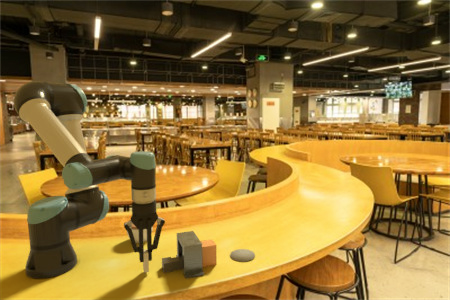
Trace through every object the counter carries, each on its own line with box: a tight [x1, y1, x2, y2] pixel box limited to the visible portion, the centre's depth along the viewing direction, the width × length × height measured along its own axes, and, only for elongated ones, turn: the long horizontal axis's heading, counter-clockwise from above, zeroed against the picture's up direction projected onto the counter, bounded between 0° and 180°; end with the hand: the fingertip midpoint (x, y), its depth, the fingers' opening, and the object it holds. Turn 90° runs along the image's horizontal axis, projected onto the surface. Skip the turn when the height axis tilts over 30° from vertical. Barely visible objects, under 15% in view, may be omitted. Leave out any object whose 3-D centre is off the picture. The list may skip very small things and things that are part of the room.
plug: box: [161, 239, 217, 274], centre depth 102 cm, size 5×18×7 cm, turn 110°
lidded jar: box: [126, 219, 154, 244], centre depth 123 cm, size 11×11×9 cm
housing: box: [175, 230, 205, 280], centre depth 101 cm, size 16×6×10 cm, turn 21°
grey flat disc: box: [229, 248, 256, 263], centre depth 109 cm, size 9×9×1 cm
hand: (145, 270), depth 97 cm, fingers closed
